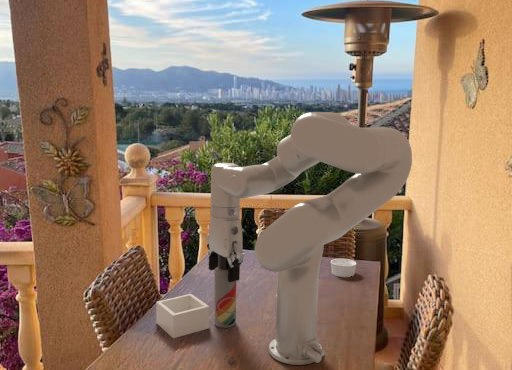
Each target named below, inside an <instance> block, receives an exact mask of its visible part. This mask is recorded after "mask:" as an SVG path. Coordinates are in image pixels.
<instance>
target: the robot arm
mask: <svg viewBox="0 0 512 370" xmlns="http://www.w3.org/2000/svg"><path fill="white" fill-rule="evenodd" d="M276 155H277V156H274V157H273V158H272V159H270V160H269V161H266V162H265V163H262V164H255V165H246V166H241V167H240V165H239V164H237V163H233V162H231V163H230V162H221V163H220V162H218V163H214V164H213V165H211V166H212V167H211V171H210V174H211V175H210V211H209V213H210V215H209V216H210V220H209V227H208V228H209V229H208V235H206V236H205V240H206V244H207V245H206V247H207V248H206V249H207V250H208V251H207V255H208V270H209V271H215V268H217V267H218V254H219V255H221V256H223V257H225V258H227V259H228V262H229V265H230V267H228V282H233V281H236V282H238V281H239V280H240V276H241V274H240V272H241V269H240V268H241V266H242V263H243V262H244V258H245V255H246V253H245V251H244V250H243V247H244V246H243V227H242V221H241V217H240V215H241V213H240V212H241V199H248V198H252V197H256V196H257V197H258V196H261V195H267V194H270V193H273V192H274V191H277V190H278V189H281V188H283V187H285V186H286V185H288V184H289V183H291V182H293V181H294V180H296V179H297V177H299V175H301V174H302V173H303V172H304V171H307V170H308V169H310V168H311V167H313V166H315V165H317V164H319V163H320V162H321V163H324V164H326V165H329V166H332V167H334V168H337V169H340V170H343V171H345V172H348V173H352V174H354V175H352V176H351V177H349V178H348V179H346V180H345V181H344V182H343V183H342V184H341V185H339V186H338V187H337V188H335V189H334V190H332V191H331V192H330V193H328V194H326V195H323V196H320V197H316V198H311V199H309V200H305V201H302V202H299V203H297V204H296V205H294V206H292V207H291V208H290V209H288V210H287V211H286V212H284V213H283V214H282V215H281V216H279V217H278V218H277V219H276V220H274V221H273V222H272V223H271V224H270V225H268V226H267V227H266V228H264V230H262V231H261V233H260V234H259V235H258V237H257V239H256V241H255V245H254V255H255V259H256V261H257V263H258V264H259V265H260V266H261V267H262V268H263V269H265V270H267V271H269V272H273V273H277V276H276V277H277V279H276V300H275V301H276V305H275V306H276V308H275V309H276V310H275V338H274V339H273V340H271V341H270V342H269V345H268V353H269V354H270V356H271V357H272V358H273V359H275V360H276V361H279V362H281V363H283V364H286V365H287V364H288V365H293V366H303V365H304V366H305V365H310V364H312V363H316V364H317V363H318V364H319V363H320V362H321V361H322V358H323V357H324V356H325V355H326V350H324V348H323V347H322V344H321V343H320V338H319V337H317V331H318V330H317V326H318V325H317V324H318V300H319V278H320V270H321V269H320V268H321V262H322V258H323V253H324V246H325V245H326V244H329V243H331V242H333V241H336V240H338V239H340V238H341V237H343V236H345V235H346V234H347V233H348V232H349V231H351V230H352V229H354V228H355V227H356V226H357V225H359V224H360V223H361V222H363V221H364V220H366V219H367V218H368V217H369V216H371V215H372V214H374V213H375V212H376V211H377V210H379V209H380V208H382V207H383V206H384V205H385V204H387V203H388V202H390V200H392V199H393V198H395V196H396V195H397V194H398V193H399V192H400V191H401V190H402V188H403V186H404V185H405V183H406V182H407V180H408V178H409V177H410V173H411V171H412V170H411V169H412V165H413V152H412V147H411V144H410V142H409V139H408V138H407V136H406V135H405V134H404V133H403V132H401V131H400V130H398V129H395V128H392V127H387V126H374V127H370V126H369V127H359V126H356V125H351V123H350V121H349V119H347V118H346V116H344V115H342V114H340V113H337V112H333V111H313V112H311V111H310V112H307V113H304V114H302V115H300V116H299V117H298V118H296V120H295V121H294V122H293V124H292V127H291V131H290V134H288V135H287V136H285V137H284V138H283V139H281V140H280V141H279V142H278V143H277V147H276ZM232 253H233V254H232ZM230 254H232V255H230ZM232 258H234V259H233V261H232Z"/></svg>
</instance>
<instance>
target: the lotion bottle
mask: <svg viewBox="0 0 512 370" xmlns="http://www.w3.org/2000/svg"><path fill="white" fill-rule="evenodd" d="M232 254H234V253H232ZM232 254H230V255H232ZM232 261H234V259H233V258H232ZM228 267H230V265H229V262H228V259H227V258H225V257H223V256H221V255H219V254H218V267H217V268H215V270H214V311H213V312H214V324H215V326H217V327H218V328H220V329H221V328H222V329H227V328H232V327H234V326H235V325H236V323H237V322H236V321H237V281H233V282H228Z"/></svg>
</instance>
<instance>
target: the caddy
mask: <svg viewBox="0 0 512 370" xmlns="http://www.w3.org/2000/svg"><path fill="white" fill-rule="evenodd" d="M155 304H156V306H155V307H156V312H155V313H156V324H157V325H158V326H159V327H160V328H161V329H162V330H164V331H165V333H167V334H168V335H169V336H170V337H171V338H172V339H177V338H180V337H183V336H187V335H189V334H193V333H197V332H201V331H204V330H207V329H210V306H209V305H208V304H207V303H205V302H204V301H202V300H201V299H199V298H198V297H197V296H195V295H194V294H192V293H189V294H184V295H180V296H175V297H171V298H167V299H161V300H158V301H156V302H155Z"/></svg>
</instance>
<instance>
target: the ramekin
mask: <svg viewBox="0 0 512 370" xmlns="http://www.w3.org/2000/svg"><path fill="white" fill-rule="evenodd" d="M330 266H331V274H332V275H334V277H338V278H350V277H351V276H352V277H354V276H355V274H356V266H357V262H356V261H355V260H353V259H350V258H334V259H331V260H330ZM352 277H351V278H352Z"/></svg>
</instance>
